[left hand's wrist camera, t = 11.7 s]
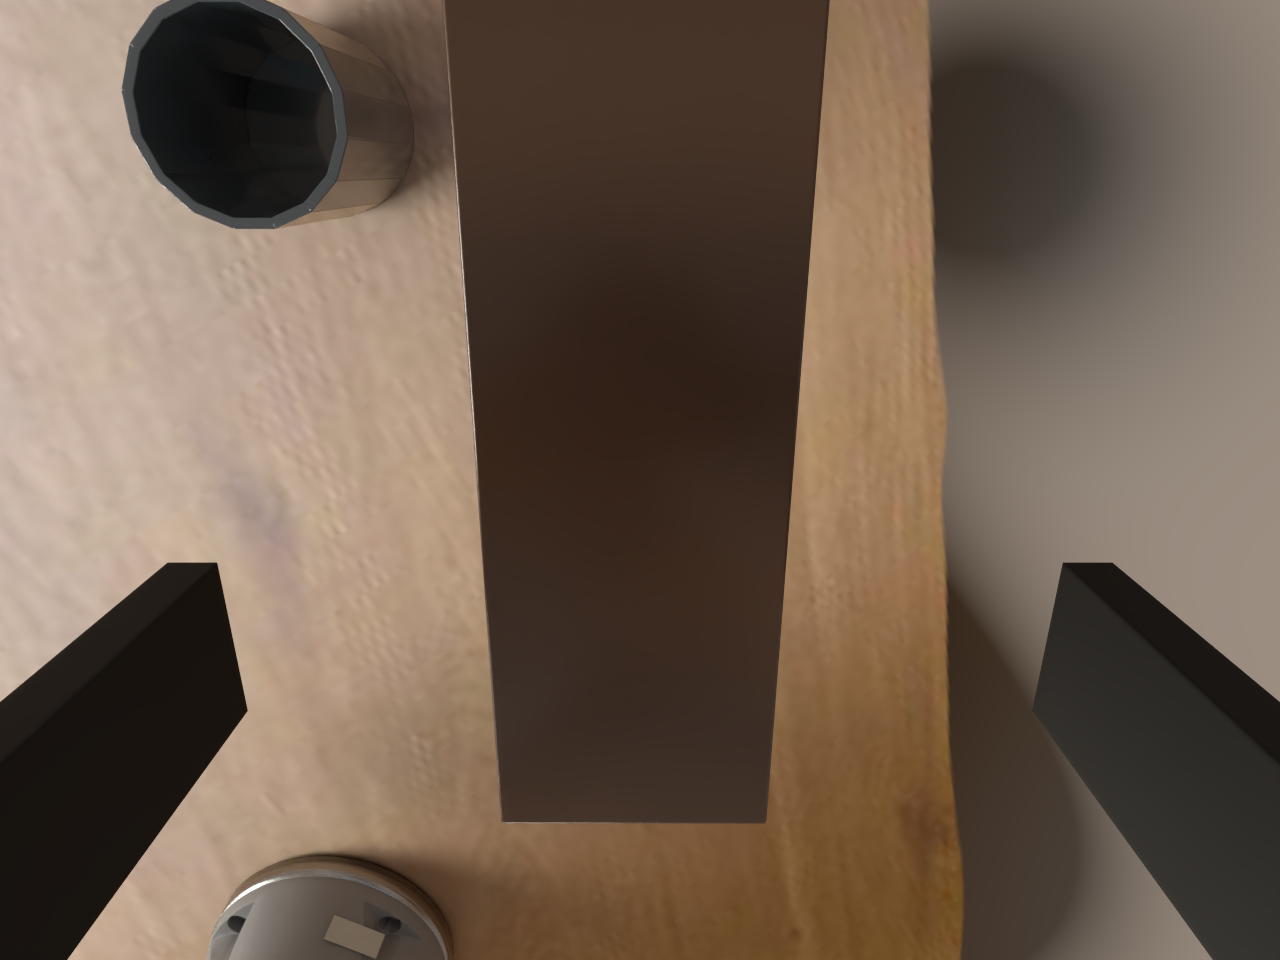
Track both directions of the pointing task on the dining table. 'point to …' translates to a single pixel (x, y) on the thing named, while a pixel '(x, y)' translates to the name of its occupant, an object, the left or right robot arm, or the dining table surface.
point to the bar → (634, 385)
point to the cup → (263, 114)
